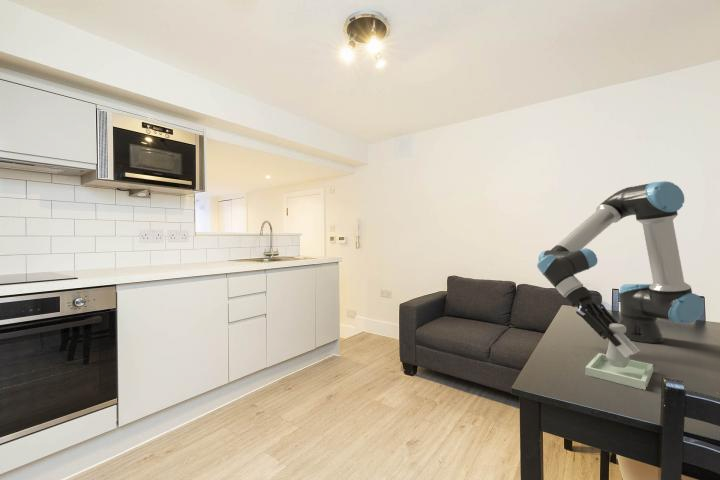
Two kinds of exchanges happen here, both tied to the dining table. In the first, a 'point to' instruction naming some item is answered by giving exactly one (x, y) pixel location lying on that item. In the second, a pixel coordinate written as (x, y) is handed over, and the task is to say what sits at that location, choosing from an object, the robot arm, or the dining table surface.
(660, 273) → the robot arm
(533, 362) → the dining table surface
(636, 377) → the tray
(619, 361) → the salt shaker
